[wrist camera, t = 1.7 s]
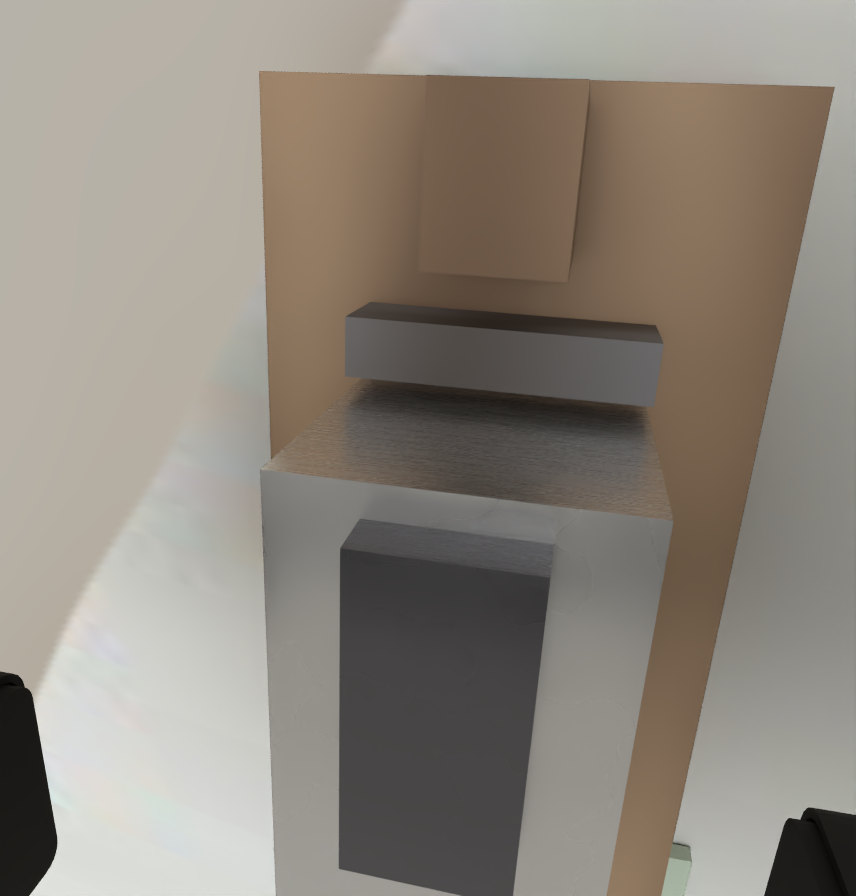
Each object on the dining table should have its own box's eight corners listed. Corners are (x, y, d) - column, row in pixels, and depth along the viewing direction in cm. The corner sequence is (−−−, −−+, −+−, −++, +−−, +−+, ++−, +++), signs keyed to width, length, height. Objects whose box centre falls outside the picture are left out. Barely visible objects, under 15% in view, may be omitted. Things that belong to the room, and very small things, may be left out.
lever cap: (645, 398, 13) (681, 553, 8) (589, 759, 16) (588, 1052, 11) (368, 371, 14) (232, 494, 9) (362, 718, 17) (256, 970, 11)
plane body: (773, 109, 15) (916, 57, 8) (640, 809, 21) (662, 1090, 15) (334, 94, 16) (165, 41, 10) (333, 751, 23) (230, 982, 16)
